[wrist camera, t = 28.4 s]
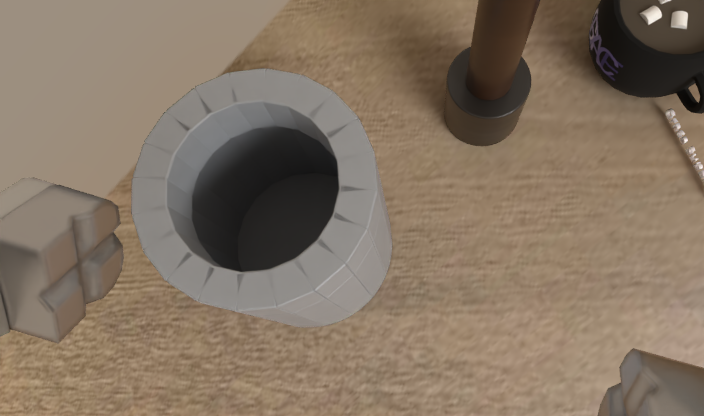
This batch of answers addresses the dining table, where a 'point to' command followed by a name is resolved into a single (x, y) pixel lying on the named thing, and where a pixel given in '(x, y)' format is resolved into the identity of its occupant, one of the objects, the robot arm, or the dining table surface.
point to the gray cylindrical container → (264, 200)
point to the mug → (652, 51)
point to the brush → (491, 74)
